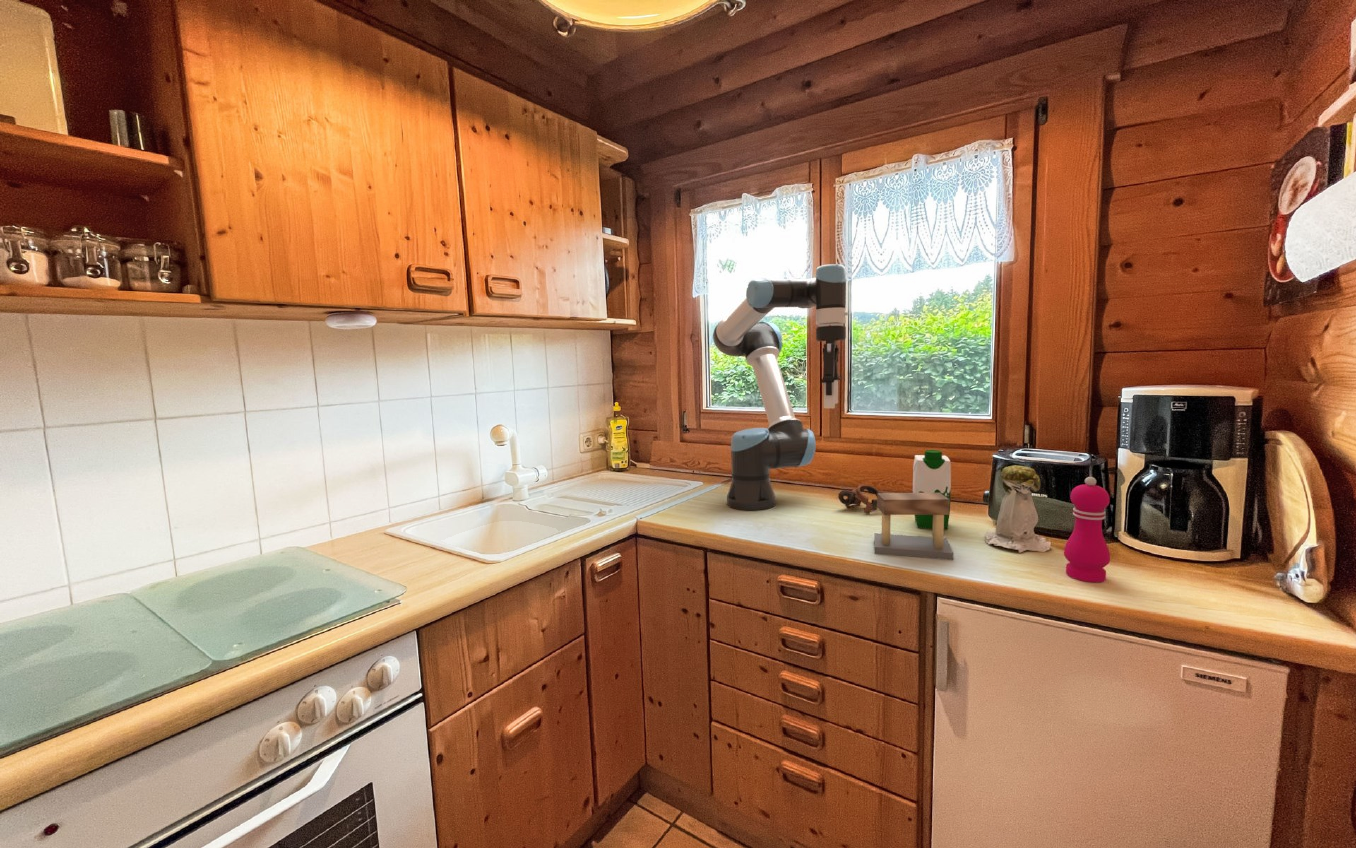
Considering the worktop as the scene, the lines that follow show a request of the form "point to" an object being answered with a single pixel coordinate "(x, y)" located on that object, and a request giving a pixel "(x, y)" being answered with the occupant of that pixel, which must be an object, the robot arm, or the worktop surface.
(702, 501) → the worktop surface
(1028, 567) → the worktop surface
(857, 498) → the twisted brown knot
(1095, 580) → the pepper mill
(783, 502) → the worktop surface
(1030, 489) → the mushroom sculpture
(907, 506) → the brown rectangular block
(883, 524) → the peg stand
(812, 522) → the worktop surface
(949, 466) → the milk carton
